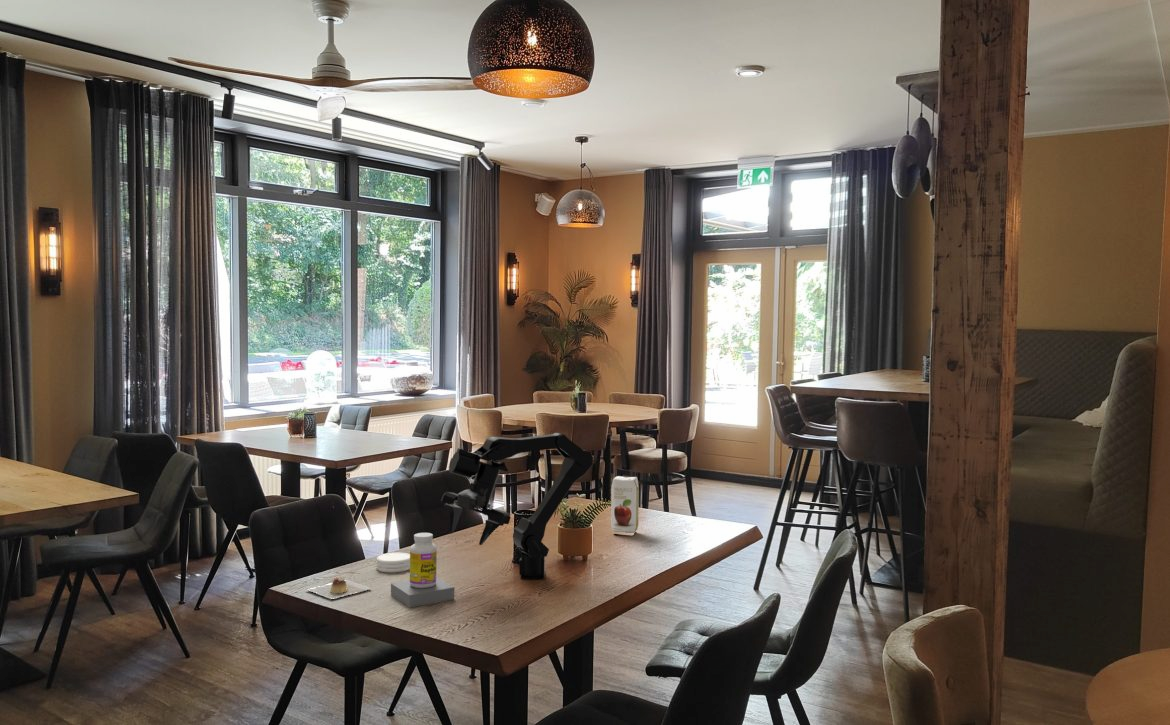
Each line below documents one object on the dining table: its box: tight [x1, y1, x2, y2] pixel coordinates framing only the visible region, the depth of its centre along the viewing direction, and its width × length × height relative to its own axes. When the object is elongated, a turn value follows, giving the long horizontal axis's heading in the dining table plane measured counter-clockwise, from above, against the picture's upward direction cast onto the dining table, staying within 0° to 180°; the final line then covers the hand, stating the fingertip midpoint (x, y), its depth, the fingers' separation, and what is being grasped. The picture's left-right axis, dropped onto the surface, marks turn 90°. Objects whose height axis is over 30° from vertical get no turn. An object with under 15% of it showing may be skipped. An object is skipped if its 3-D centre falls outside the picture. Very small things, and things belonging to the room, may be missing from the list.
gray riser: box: [390, 576, 455, 608], centre depth 215 cm, size 12×12×3 cm
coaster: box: [376, 552, 410, 574], centre depth 241 cm, size 10×10×4 cm
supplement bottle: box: [409, 532, 438, 588], centre depth 214 cm, size 7×7×13 cm
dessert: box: [305, 574, 373, 600], centre depth 219 cm, size 12×12×5 cm
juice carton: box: [610, 475, 640, 533], centre depth 285 cm, size 8×9×19 cm
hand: (465, 539), depth 225 cm, fingers open, 9 cm apart
